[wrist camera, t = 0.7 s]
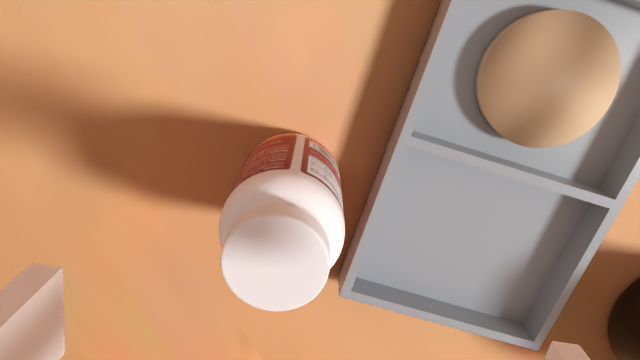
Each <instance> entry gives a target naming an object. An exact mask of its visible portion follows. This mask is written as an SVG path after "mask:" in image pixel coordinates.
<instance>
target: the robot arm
mask: <svg viewBox="0 0 640 360" xmlns="http://www.w3.org/2000/svg"><path fill="white" fill-rule="evenodd" d="M64 353H65V341H64V306H63V271H62V267H56V266H50V265H43V264H36V263H32V264H31V265H30V266H28V267H27V268H26V269H25V270H24V271H23V272H21V273H20V274H19V275H18V276H17V277H16V278H14V279H13V280H12V281H11V282H10V283H9V284H7V285H6V286H5V287H4V288H3V289H2V290H0V360H60V358H61V357H62V356H63V354H64ZM544 360H590V358H589V357H588V356H587V354H586V353H585V352H584V350H583V349H582V348H581V346H580V345H577V344H571V343H564V342H557V341H552V342H551V344H550V347H549V349H548V352H547V354H546V357H545V359H544Z"/></svg>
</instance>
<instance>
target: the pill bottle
mask: <svg viewBox="0 0 640 360" xmlns="http://www.w3.org/2000/svg"><path fill="white" fill-rule="evenodd" d="M219 237H220V242H221V246H222V252H221V270H222V274H223V277H224V279H225V281H226V283H227V285H228V286H229V288H230V289H231V290H232V292H233V293H234V294H235V295H236V296H238V297H239V298H240V299H241V300H243V301H244V302H246V303H247V304H249V305H251V306H254V307H256V308H259V309H262V310H268V311H286V310H291V309H295V308H298V307H300V306H302V305H305V304H307V303H308V302H309V301H311V300H312V299H313V298H315V297H316V296H317V295H318V294H319V292H320V291H321V290H322V288H323V287H324V285H325V283H326V281H327V278H328V275H329V271H330V269H331V268H332V266H333V265H334V264H335V262H336V261H337V259H338V257H339V255H340V253H341V251H342V248H343V244H344V239H345V221H344V213H343V202H342V190H341V179H340V172H339V168H338V165H337V162H336V160H335V158H334V157H333V155H332V154H331V152H330V151H329V150H328V149H327V148H326V147H325V146H324V145H323V144H322V143H320V142H319V141H317V140H316V139H314V138H312V137H309V136H306V135H303V134H296V133H286V134H280V135H276V136H273V137H271V138H268V139H267V140H265V141H263V142H262V143H260V144H259V145H258V146H257V147H256V148H255V149H254V150H253V151H252V153H251V154H250V155H249V157H248V159H247V160H246V162H245V164H244V166H243V168H242V170H241V172H240V174H239V176H238V178H237V180H236V182H235V184H234V186H233V188H232V190H231V192H230V194H229V196H228V198H227V200H226V202H225V204H224V207H223V210H222V212H221V216H220V222H219Z"/></svg>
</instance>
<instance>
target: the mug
mask: <svg viewBox="0 0 640 360" xmlns="http://www.w3.org/2000/svg"><path fill="white" fill-rule="evenodd" d="M608 334H609V341H610V344H611V347H612V350H613V352H614V353H615V355H616V357H617V358H618V359H619V360H640V279H639V280H638V281H636V282H635V283H634V284H633V285H631V286H630V287H629V288H628V289H627V290H626V291H625V292H624V293H623V294H622V296H621V297H620V298H619V300H618V301H617V303H616V304H615V306H614V308H613V310H612V313H611V316H610V319H609V325H608Z"/></svg>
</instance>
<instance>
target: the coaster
mask: <svg viewBox="0 0 640 360" xmlns="http://www.w3.org/2000/svg"><path fill="white" fill-rule="evenodd" d="M620 73H621V63H620V55H619V51H618V48H617V45H616V43H615V40H614V39H613V37H612V35H611V34H610V32H609V31H608V30H607V29H606V27H605V26H603V25H602V24H601V23H600V22H599V21H597V20H596V19H594V18H593V17H591V16H589V15H586V14H584V13H581V12H577V11H573V10H541V11H536V12H532V13H529V14H526V15H524V16H522V17H519V18H517V19H516V20H514V21H512V22H511V23H509V24H508V25H507V26H505V27H504V28H503V29H502V30H501V31H500V32H498V33H497V34H496V35H495V37H494V38H493V39H492V40H491V41H490V43H489V44H488V46H487V47H486V49H485V50H484V52H483V54H482V56H481V58H480V61H479V64H478V67H477V70H476V75H475V85H474V87H475V97H476V102H477V105H478V108H479V111H480V113H481V115H482V117H483V118H484V119H485V121H486V122H487V124H488V125H489V126H490V127H491V128H492V129H494V130H495V131H496V132H497V133H499V134H500V135H501V136H503V137H504V138H505V139H507V140H509V141H511V142H513V143H515V144H518V145H520V146H524V147H529V148H550V147H555V146H559V145H563V144H565V143H568V142H570V141H573V140H574V139H576V138H578V137H580V136H581V135H583V134H584V133H586V132H587V131H589V130H590V129H591V128H592V127H593V126H594V125H595V124H596V123H597V122H598V121H599V120H600V119H601V118H602V117H603V115H604V114H605V113H606V111H607V110H608V108H609V107H610V105H611V103H612V101H613V99H614V97H615V95H616V92H617V89H618V86H619V80H620Z"/></svg>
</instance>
